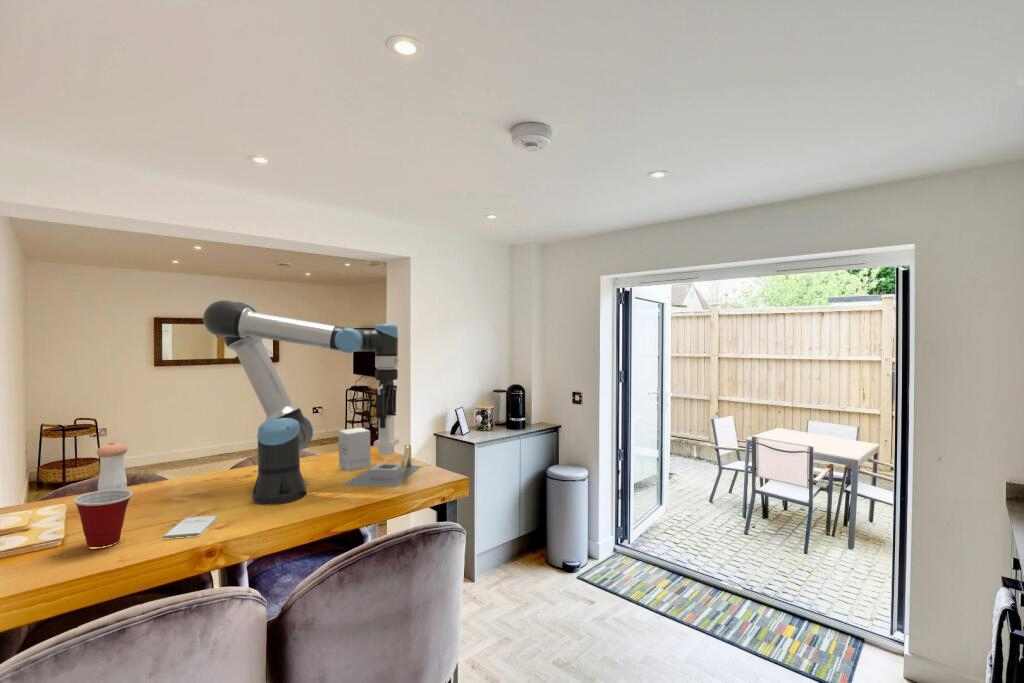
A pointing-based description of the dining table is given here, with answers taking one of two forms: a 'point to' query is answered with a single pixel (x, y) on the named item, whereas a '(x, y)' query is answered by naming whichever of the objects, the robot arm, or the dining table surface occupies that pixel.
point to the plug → (387, 439)
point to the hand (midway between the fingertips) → (386, 435)
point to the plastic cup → (102, 515)
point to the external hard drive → (191, 527)
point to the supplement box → (354, 449)
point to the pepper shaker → (112, 467)
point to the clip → (406, 457)
